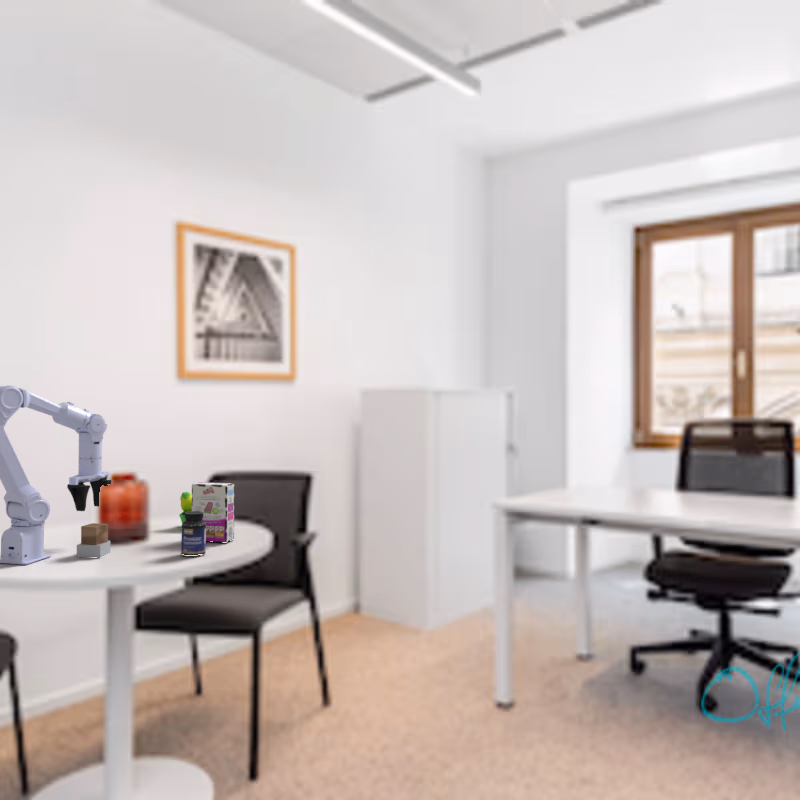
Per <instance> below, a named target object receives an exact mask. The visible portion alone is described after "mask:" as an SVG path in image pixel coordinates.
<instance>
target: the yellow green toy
mask: <svg viewBox="0 0 800 800" xmlns="http://www.w3.org/2000/svg"><path fill="white" fill-rule="evenodd" d="M179 500H180V507H181V510H182V511H183V512H181V513H180V514H179V515H178V517H179V518H180V520H181V521H180V522H181V524H182V523H183V522H185V521H186V519H185V512H190V511H192V493H190V492H189V491H183V492H182V493H181V494H180V499H179Z"/></svg>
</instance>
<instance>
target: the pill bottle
mask: <svg viewBox="0 0 800 800" xmlns="http://www.w3.org/2000/svg"><path fill="white" fill-rule="evenodd" d="M203 517H204V513H203V512H201V511H190V512H185V519H186V521H185V522H183V523H182V522H181V547H180V548H181V550H180V551H181V552H180V555H181V554H184V555H198V554H204V553H205V554H206V549H207V546H206V543H207V542H206V523H205V522H204V521H203V520H202V519H203Z"/></svg>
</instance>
